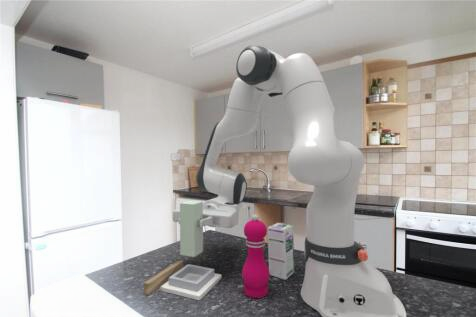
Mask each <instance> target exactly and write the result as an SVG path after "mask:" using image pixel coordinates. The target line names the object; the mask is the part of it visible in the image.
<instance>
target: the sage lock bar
mask: <svg viewBox="0 0 476 317" xmlns="http://www.w3.org/2000/svg"><path fill="white" fill-rule="evenodd" d="M203 203H204V202H203V201H202V200H199V201H198V200H186V201H184V202H180V203H179V208H180V224H179V244H180V245H179V252H180V253H179V254H180V256H186V257H192V258H195V257H196V256H198V255H200V254H201V253H203V251H204V227H197V220H199V219H203Z"/></svg>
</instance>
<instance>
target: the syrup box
mask: <svg viewBox="0 0 476 317" xmlns="http://www.w3.org/2000/svg"><path fill="white" fill-rule="evenodd" d="M294 245H295V244H294V225H293V224H290V223H284V222H276V223H275V224H272V225H269V226H268V227H267V246H268V247H267V248H268V250H267V255H268V268H269V273H270V276H273V277H276V278H278V279H282V280H286V281H287V280H288V278H290V277H291V276H292V275H293V274H294V273H295V249H294V248H295V247H294Z"/></svg>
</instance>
